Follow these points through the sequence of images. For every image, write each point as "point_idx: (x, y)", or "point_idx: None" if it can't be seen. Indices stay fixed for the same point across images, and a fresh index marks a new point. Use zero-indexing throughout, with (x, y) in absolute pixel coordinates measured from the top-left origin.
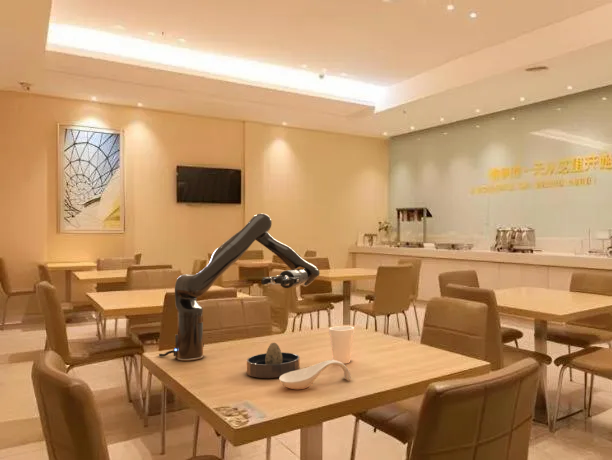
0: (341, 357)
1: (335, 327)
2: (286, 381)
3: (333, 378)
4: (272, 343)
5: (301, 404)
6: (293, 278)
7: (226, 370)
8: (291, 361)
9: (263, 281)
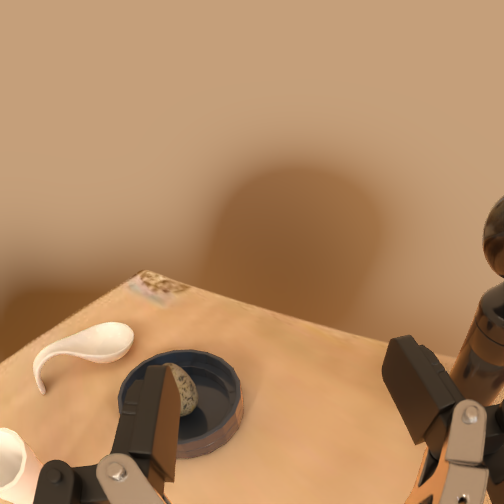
0: None
1: (13, 482)
2: (118, 322)
3: (62, 394)
4: (168, 363)
5: (98, 311)
6: (49, 483)
7: (298, 392)
8: (127, 378)
9: (388, 354)
